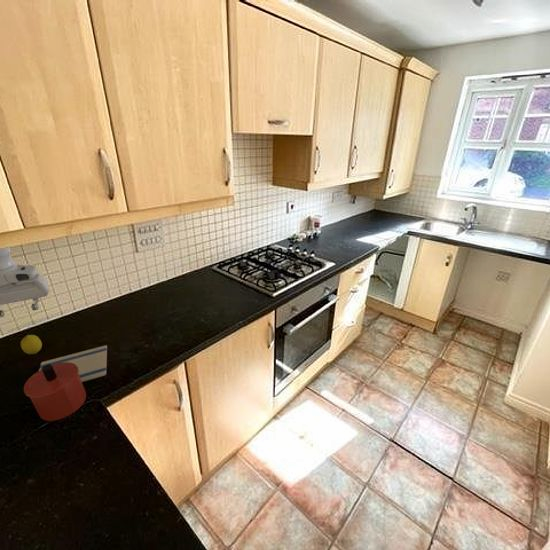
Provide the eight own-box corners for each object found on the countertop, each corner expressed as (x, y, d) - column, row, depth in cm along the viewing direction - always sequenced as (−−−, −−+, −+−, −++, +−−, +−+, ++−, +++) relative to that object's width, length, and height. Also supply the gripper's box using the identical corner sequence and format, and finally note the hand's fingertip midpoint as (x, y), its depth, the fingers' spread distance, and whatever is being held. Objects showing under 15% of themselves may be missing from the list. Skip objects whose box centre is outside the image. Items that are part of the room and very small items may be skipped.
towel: (31, 397, 90) (30, 396, 90) (42, 363, 103) (41, 362, 103) (106, 375, 98) (105, 373, 97) (107, 346, 110) (106, 345, 110)
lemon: (26, 361, 104) (17, 342, 100) (25, 352, 108) (16, 335, 104) (45, 354, 107) (37, 336, 103) (44, 346, 111) (36, 328, 107)
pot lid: (19, 406, 76) (11, 392, 74) (30, 373, 86) (23, 360, 84) (76, 389, 81) (70, 375, 79) (81, 359, 91) (75, 346, 89)
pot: (35, 427, 81) (21, 402, 77) (43, 396, 90) (31, 372, 86) (84, 411, 85) (74, 386, 81) (87, 383, 95) (78, 359, 90)
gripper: (-47, 287, 87) (-25, 326, 93) (38, 273, 95) (53, 309, 101) (-38, 278, 92) (-18, 315, 98) (42, 265, 100) (56, 301, 106)
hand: (19, 312), depth 100 cm, fingers open, 8 cm apart
